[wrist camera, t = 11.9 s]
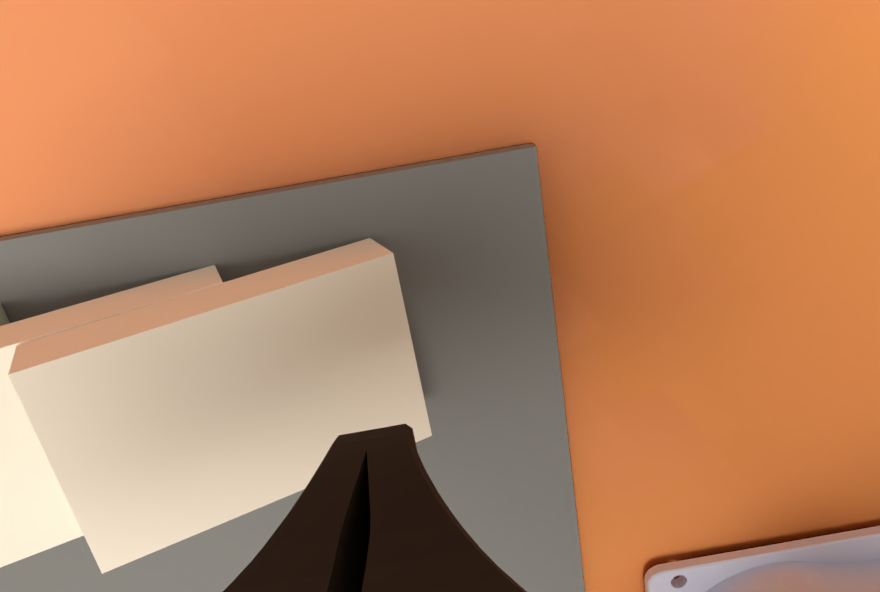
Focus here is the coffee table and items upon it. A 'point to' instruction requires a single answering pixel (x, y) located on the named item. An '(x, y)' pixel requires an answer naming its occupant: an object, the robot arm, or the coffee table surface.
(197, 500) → the domino
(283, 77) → the coffee table surface
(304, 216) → the mat
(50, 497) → the domino
